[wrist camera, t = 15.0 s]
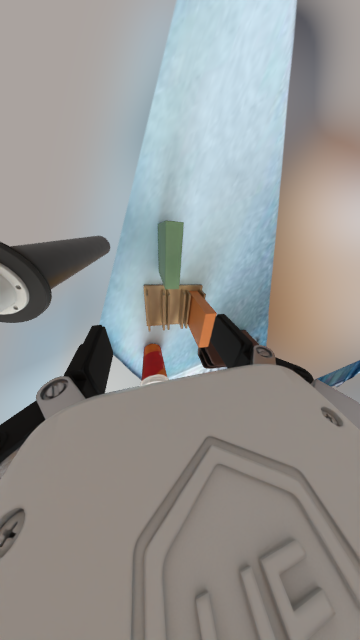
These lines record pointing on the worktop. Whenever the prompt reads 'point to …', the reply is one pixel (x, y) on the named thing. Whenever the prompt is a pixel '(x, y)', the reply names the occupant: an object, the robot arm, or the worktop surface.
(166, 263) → the green book
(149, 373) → the coffee cup
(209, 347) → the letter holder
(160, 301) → the book rack
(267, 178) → the worktop surface
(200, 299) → the orange book
